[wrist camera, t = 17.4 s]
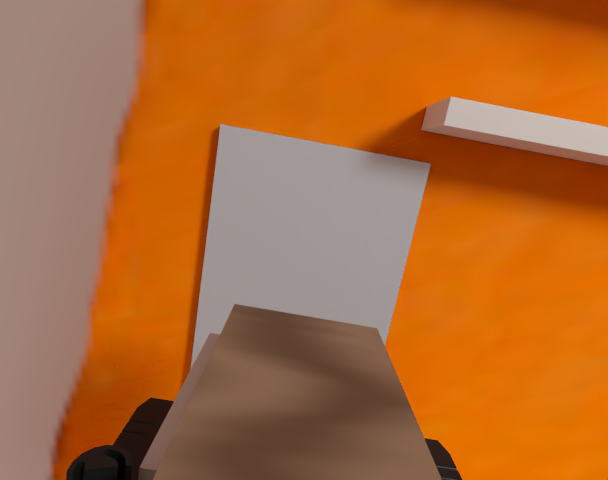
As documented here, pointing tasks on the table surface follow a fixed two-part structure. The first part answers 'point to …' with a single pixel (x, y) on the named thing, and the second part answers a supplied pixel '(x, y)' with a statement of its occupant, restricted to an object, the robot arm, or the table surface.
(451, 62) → the table surface
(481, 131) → the bay
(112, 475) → the robot arm
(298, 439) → the walnut block
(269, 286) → the mat
